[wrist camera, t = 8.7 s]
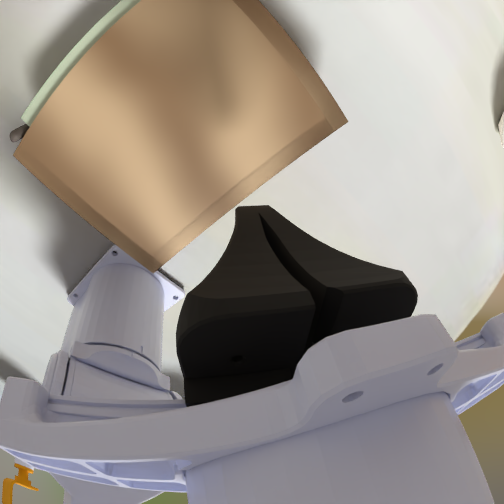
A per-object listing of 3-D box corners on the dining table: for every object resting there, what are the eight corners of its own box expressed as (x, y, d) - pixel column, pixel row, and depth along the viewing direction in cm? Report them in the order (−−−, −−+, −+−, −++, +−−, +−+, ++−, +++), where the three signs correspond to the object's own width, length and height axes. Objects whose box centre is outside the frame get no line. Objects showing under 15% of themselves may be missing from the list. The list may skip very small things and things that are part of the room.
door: (61, 112, 16) (30, 128, 12) (51, 103, 15) (19, 116, 11) (204, -20, 12) (206, -42, 9) (193, -30, 12) (192, -54, 8)
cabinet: (160, 230, 23) (153, 273, 19) (40, 124, 16) (3, 146, 11) (315, 106, 19) (348, 121, 15) (197, -30, 12) (198, -58, 8)
